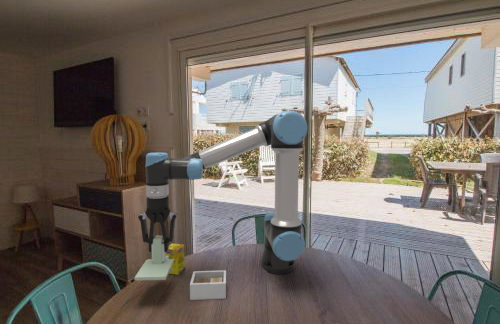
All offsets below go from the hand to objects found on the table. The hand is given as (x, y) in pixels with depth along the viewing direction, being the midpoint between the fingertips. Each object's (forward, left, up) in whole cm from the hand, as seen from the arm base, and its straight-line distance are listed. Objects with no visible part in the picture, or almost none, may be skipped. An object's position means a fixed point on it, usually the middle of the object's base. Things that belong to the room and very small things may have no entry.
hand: (158, 260), depth 98 cm
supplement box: (-3, -12, -11) cm, 17 cm away
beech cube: (-21, +4, -10) cm, 24 cm away
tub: (-18, +4, -11) cm, 22 cm away
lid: (0, +3, -2) cm, 4 cm away
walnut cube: (-16, +4, -10) cm, 19 cm away
